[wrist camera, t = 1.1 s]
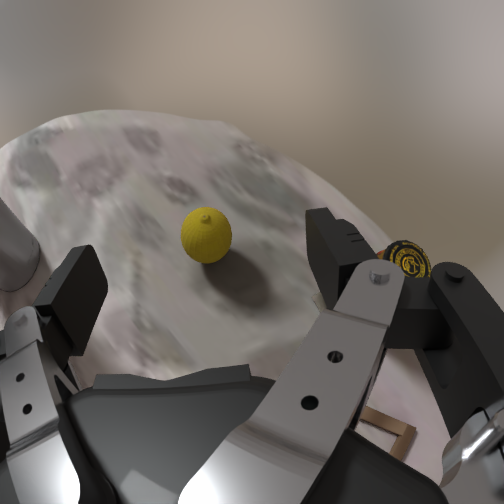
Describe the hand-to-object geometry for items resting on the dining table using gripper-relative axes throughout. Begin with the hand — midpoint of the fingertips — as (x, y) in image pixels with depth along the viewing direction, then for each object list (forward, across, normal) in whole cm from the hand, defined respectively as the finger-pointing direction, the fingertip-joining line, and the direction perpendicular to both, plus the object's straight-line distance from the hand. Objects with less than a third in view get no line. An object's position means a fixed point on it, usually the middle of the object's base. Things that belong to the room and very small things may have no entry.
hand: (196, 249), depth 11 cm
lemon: (+23, +3, +14) cm, 27 cm away
